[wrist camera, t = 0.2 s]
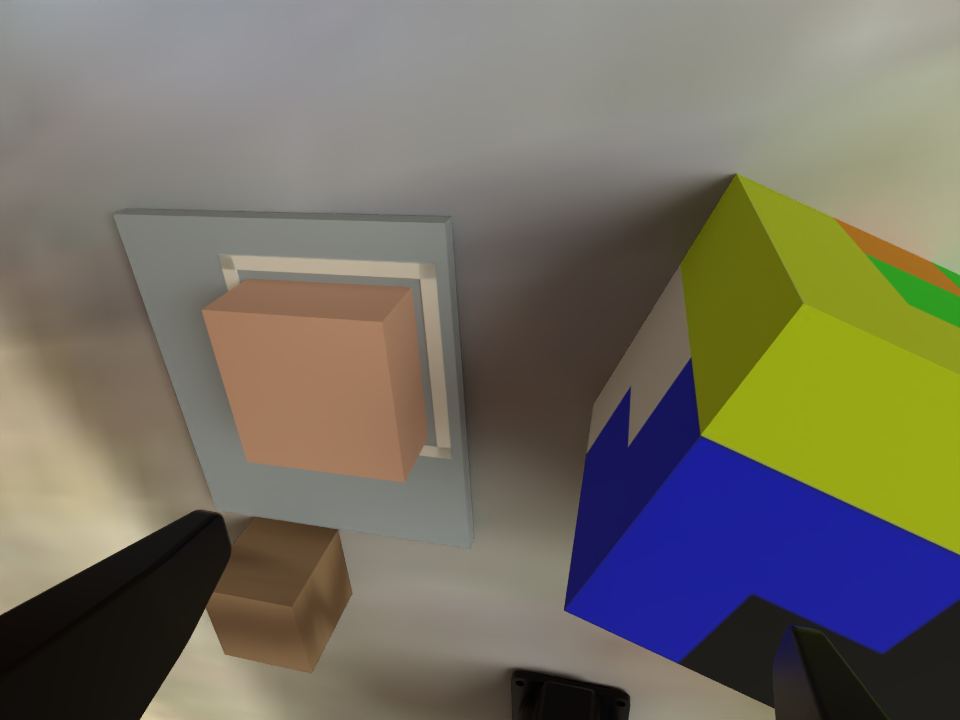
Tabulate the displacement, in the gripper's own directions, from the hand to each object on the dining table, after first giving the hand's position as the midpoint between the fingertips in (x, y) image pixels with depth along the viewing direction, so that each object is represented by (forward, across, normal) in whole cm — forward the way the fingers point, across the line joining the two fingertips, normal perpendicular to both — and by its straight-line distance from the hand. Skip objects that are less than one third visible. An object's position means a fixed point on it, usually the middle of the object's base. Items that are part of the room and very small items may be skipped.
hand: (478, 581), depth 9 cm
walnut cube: (+15, +14, +19) cm, 27 cm away
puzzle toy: (+15, -8, +3) cm, 17 cm away
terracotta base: (+14, +9, +5) cm, 17 cm away
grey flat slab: (+14, +11, +7) cm, 20 cm away
